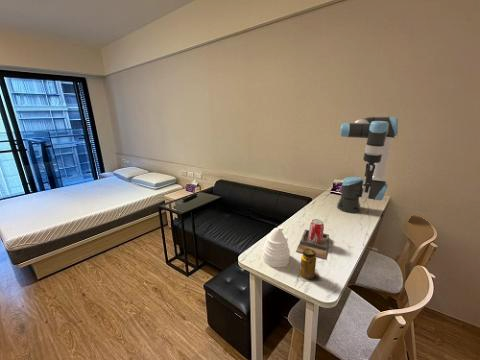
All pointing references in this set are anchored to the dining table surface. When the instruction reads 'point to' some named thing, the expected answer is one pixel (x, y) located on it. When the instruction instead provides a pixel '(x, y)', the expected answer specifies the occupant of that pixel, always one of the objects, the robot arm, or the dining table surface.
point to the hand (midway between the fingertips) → (364, 192)
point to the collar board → (314, 245)
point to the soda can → (316, 231)
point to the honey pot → (276, 249)
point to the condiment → (309, 266)
